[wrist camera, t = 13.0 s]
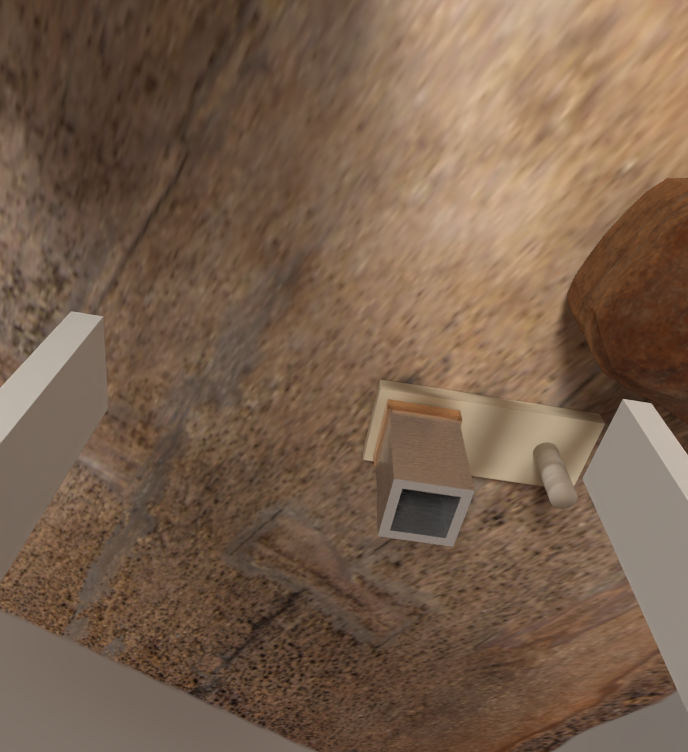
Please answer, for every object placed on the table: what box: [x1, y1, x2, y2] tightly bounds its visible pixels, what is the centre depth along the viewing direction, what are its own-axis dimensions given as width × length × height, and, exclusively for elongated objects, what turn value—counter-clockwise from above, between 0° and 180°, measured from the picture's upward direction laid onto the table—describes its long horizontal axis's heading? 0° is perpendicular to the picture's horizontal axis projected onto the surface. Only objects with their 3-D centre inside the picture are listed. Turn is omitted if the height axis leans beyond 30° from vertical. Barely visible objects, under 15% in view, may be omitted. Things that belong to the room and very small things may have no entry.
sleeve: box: [373, 399, 475, 547], centre depth 50 cm, size 6×6×10 cm
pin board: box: [363, 379, 605, 509], centre depth 52 cm, size 20×8×8 cm, turn 81°
